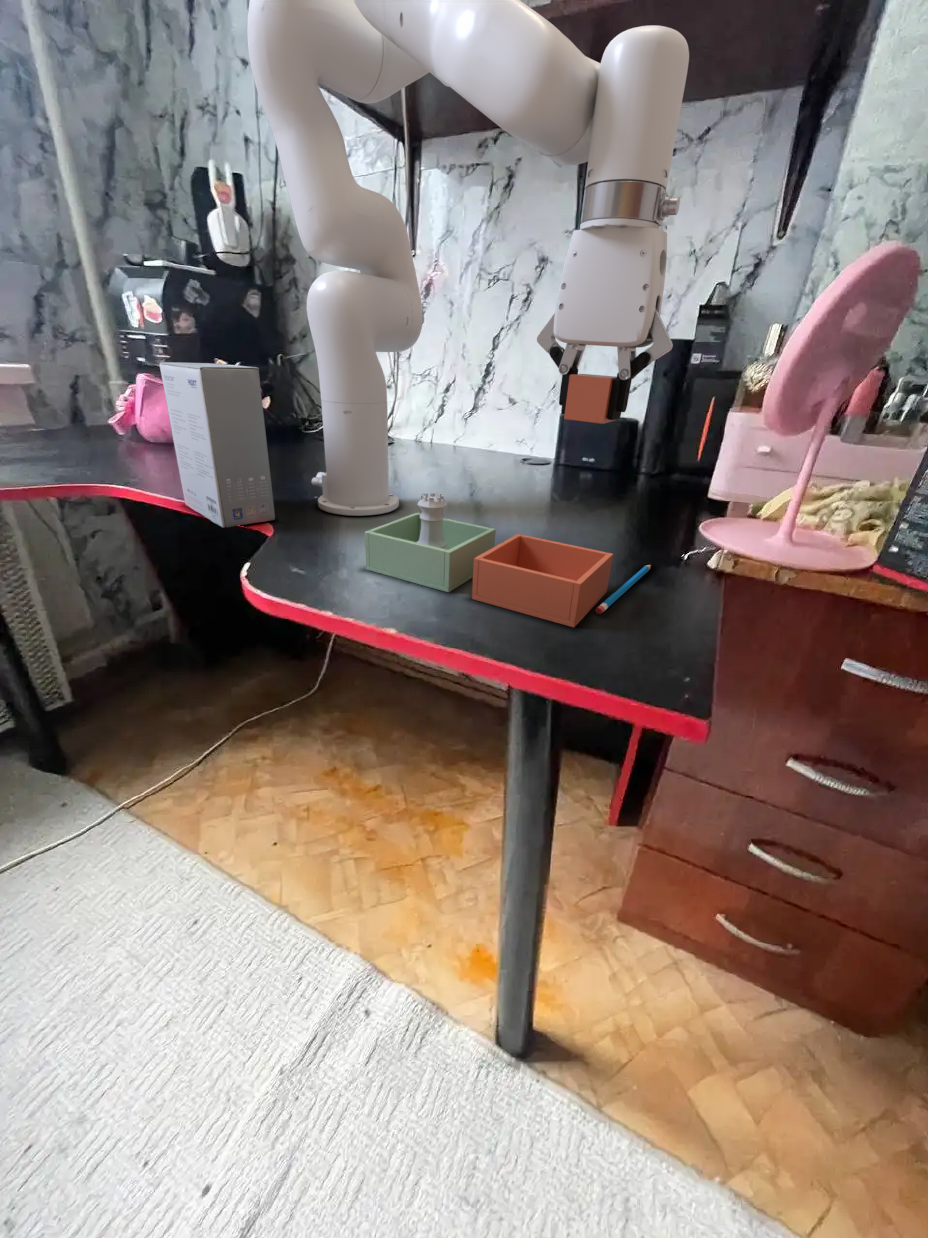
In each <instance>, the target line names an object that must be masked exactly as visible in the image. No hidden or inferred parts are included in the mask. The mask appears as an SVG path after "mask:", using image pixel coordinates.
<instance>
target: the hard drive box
mask: <svg viewBox="0 0 928 1238" xmlns="http://www.w3.org/2000/svg"><path fill="white" fill-rule="evenodd" d="M158 366H159V370H160V376H161V381H162V386H163V391H164V398H165V403H166V409H167V415H168V419H169V424H170V430H171V431H170V432H171V436H172V440H173V446H174V451H175V452H174V453H175V459H176V462H177V468H178V473H179V478H180V485H181V490H182V495H183V500H184V504H185V506H186V507H188V508H190V509H191V510H193V511H194V512H196V513H198V514H199V515H201V516H203V517H205V518H206V519H208V520H209V521H210V522H212V523H214V525H215V524H216V525H217V526H219V527H221V528H223V529H225V528H226V529H227V528H232V527H233V528H234V527H238V526H245V525H251V524H256V523H262V522H263V523H264V522H269V521H275V520H276V513H275V505H274V495H273V485H272V478H271V469H270V461H269V460H270V459H269V453H268V442H267V441H268V440H267V434H266V425H265V416H264V407H263V406H264V405H263V399H262V389H261V380H260V372H259V371H260V367H256V366H245V365H236V364H223V363H222V364H221V363H211V362H210V363H209V362H173V361H172V362H169V361H168V362H167V361H164V362H163V361H160V362H159V364H158Z"/></svg>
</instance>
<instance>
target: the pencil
mask: <svg viewBox="0 0 928 1238" xmlns="http://www.w3.org/2000/svg"><path fill="white" fill-rule="evenodd" d="M651 566H652V565H651V564H647V565H644V566H643V567H642V568H641V569H640V570H639V571H637V572H636V573H635V574H634V575H632V577H631V578H629V579H628V580H627V581H626V582H625V583H623V584H622V585H621V586H620V587H619V588H618V589H617V590H615V591H614V593H612V594H611V595H609V597H608V598H607V599H605V600H604V601H603V602H602V603H600V605H598V606H597V607H596V609H594V611H595V614H597V615H602V614H603V613H604V612H605V611H606V610H607V609H608V608H609V607H610V606H612V605H613V604H614V603H615V602H616V601H617V600H618V599H620V597H622V596H623V595H624V594H625V593H626V592H627V591H628V590H629V589H630V588H632V587H633V586H634V584H636V583H637V582H638V581H639V580H640V579H641V578H643V577H644V576H645V575H646V574H647V573H648V572H649V571H650V570H651Z"/></svg>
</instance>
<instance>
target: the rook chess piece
mask: <svg viewBox="0 0 928 1238" xmlns="http://www.w3.org/2000/svg"><path fill="white" fill-rule="evenodd" d="M444 497H445V496H444V495H443V493H440V492H439V493H437V496H436V492H430V496H429V493H428V492H424V493H423V494H422V493H421V494H420V499H419V501H418V502H417V506H418V507H419V508H420V510H421V513H422V514H421V515H420V519H421V532H420V538H419V541H417V543H421V544H425V545H429V546H434V547H438V548H442V549H446V550H449V548H448V547H447V546H446V542H445V540H444V535H443V526H442V523H443V519H444V518H445V516H444V515H443V511H444V509H445V508H446V507H447V505H448V504H447V502H446V501H445V500H444V499H445V498H444Z"/></svg>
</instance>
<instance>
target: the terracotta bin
mask: <svg viewBox="0 0 928 1238" xmlns="http://www.w3.org/2000/svg"><path fill="white" fill-rule="evenodd" d="M613 558H614V553H612V552H607V551H602V550H596V549H593V548H587V547H583V546H579V545H573V544H568V543H564V542H559V541H555V540H550V539H545V538H541V537H535V536H531V535H526V534H521V533H516V534H514V535H513V536H511V537H509V538H508V539H505V540H503V542H501V543H499V544H497V545H495V546H494V547H493V548H492V549H490V550H488V551H486V552H484V553H483V554H481V555H479V556H477V557H476V558H474V569H473V578H472V589H471V599H472V600H474V601H478V602H482V603H484V604H487V605H491V606H495V607H498V608H502V609H506V610H510V611H513V612H517V613H519V614H524V615H528V616H532V617H535V618H538V619H542V620H545V621H549V622H553V623H556V624H559V625H564V626H567V627H571V628H575V627H576V626H577V625H578V624H579V623H580V622H581V621H582V620H583V619H584V618H585V616H587V614H588V613H589V612H590V611H591V610H593V608H594V607H595V606H596V605H597V604H598V603H599V601H601V599H602V598H603V597H604V596H605V595H606V594H607V593H608V587H609V581H610V575H611V571H612V564H613Z"/></svg>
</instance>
